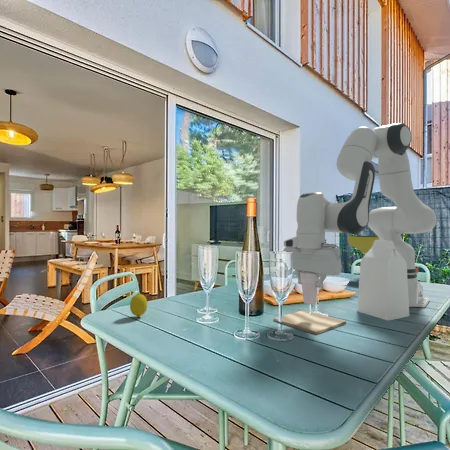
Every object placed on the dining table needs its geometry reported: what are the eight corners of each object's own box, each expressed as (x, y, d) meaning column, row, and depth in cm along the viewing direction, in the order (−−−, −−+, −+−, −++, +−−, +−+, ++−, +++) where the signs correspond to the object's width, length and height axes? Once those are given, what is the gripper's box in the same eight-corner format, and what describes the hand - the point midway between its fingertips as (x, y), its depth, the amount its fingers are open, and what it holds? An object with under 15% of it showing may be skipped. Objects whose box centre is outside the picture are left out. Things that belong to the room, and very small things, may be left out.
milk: (357, 311, 112) (357, 239, 112) (378, 307, 117) (378, 239, 117) (387, 320, 101) (388, 241, 101) (409, 316, 106) (410, 240, 106)
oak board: (304, 312, 110) (304, 309, 110) (346, 323, 97) (346, 321, 97) (273, 320, 100) (273, 318, 100) (316, 334, 87) (316, 331, 87)
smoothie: (305, 306, 94) (306, 260, 94) (295, 300, 101) (296, 258, 101) (324, 304, 96) (324, 260, 96) (313, 299, 102) (313, 257, 102)
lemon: (142, 320, 99) (142, 295, 99) (126, 319, 100) (126, 294, 100) (150, 315, 104) (150, 291, 104) (135, 314, 105) (135, 290, 105)
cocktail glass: (376, 284, 161) (376, 237, 161) (342, 280, 174) (342, 236, 174) (386, 280, 175) (387, 236, 174) (354, 276, 187) (354, 235, 187)
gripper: (346, 244, 92) (345, 289, 92) (291, 240, 108) (291, 280, 108) (334, 244, 88) (333, 292, 88) (279, 241, 104) (279, 282, 104)
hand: (310, 285), depth 98 cm, fingers closed on smoothie, 5 cm apart
